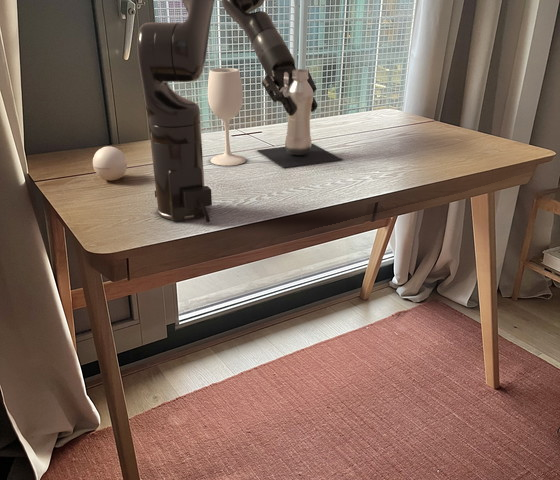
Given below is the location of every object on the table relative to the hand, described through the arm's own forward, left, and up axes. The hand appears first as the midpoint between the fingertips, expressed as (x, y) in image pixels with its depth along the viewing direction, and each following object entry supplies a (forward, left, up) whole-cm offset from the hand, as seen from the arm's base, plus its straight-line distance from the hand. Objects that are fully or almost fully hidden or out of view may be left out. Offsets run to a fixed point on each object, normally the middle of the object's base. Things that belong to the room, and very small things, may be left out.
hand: (304, 111), depth 138 cm
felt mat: (+1, 0, -11) cm, 11 cm away
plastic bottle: (+2, +1, -11) cm, 11 cm away
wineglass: (+4, +18, -11) cm, 22 cm away
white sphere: (+1, +48, -11) cm, 50 cm away
